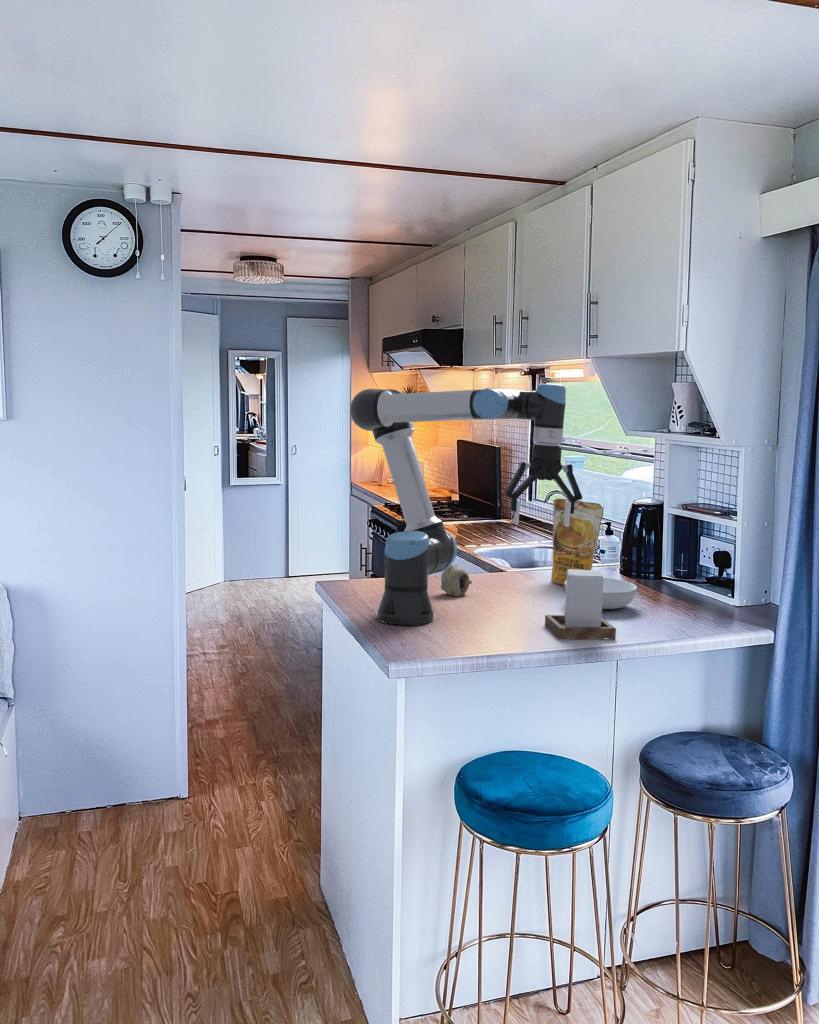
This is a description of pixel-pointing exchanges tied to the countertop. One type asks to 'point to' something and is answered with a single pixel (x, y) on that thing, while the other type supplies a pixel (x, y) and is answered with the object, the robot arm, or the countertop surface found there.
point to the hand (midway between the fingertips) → (541, 525)
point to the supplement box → (583, 598)
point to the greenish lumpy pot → (455, 581)
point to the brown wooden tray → (578, 629)
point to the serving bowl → (616, 593)
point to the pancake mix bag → (574, 538)
